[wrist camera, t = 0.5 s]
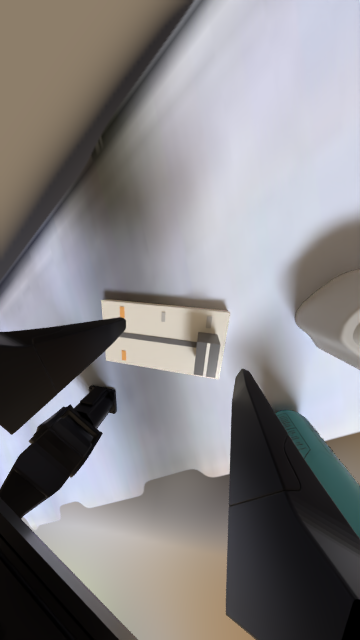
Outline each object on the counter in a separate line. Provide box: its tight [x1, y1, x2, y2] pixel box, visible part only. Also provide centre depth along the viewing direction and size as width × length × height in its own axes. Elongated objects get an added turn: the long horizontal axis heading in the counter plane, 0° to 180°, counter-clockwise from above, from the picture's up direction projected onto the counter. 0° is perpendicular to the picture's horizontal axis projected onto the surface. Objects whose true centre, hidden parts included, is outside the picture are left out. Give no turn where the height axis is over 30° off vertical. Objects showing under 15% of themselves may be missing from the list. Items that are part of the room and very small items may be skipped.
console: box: [101, 299, 230, 380], centre depth 24 cm, size 12×22×2 cm, turn 86°
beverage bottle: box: [276, 410, 360, 538], centre depth 15 cm, size 6×7×20 cm
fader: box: [194, 332, 221, 378], centre depth 20 cm, size 5×3×4 cm, turn 176°
